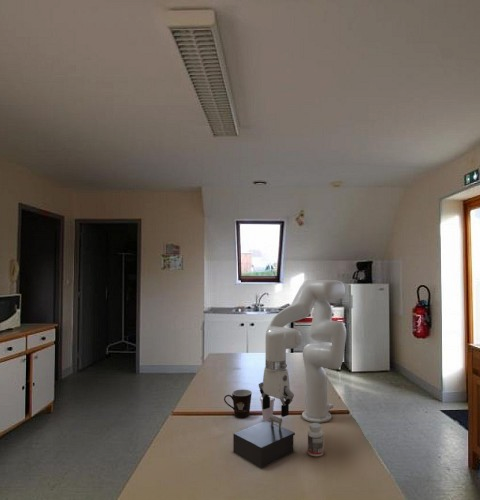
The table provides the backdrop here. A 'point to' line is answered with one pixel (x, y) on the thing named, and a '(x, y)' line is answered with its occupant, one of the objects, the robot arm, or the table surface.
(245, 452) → the dark grey storage bin
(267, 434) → the lid
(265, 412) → the smoothie
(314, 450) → the pill bottle
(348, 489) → the table surface
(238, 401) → the coffee mug
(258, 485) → the table surface
